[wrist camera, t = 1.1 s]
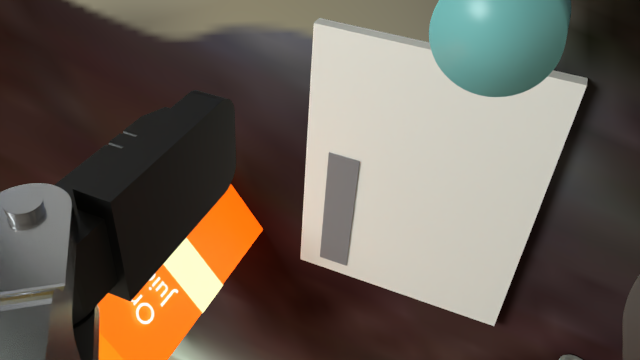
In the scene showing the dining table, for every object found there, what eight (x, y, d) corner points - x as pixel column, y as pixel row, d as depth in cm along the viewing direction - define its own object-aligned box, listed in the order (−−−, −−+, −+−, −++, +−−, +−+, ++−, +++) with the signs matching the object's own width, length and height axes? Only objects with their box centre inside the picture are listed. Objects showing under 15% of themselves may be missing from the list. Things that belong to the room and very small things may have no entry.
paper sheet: (587, 78, 28) (586, 86, 28) (496, 317, 40) (493, 327, 39) (319, 17, 32) (313, 23, 31) (304, 252, 43) (299, 260, 43)
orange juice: (197, 249, 48) (8, 475, 33) (130, 162, 45) (-110, 368, 30) (265, 229, 44) (81, 482, 29) (196, 131, 41) (-49, 356, 26)
